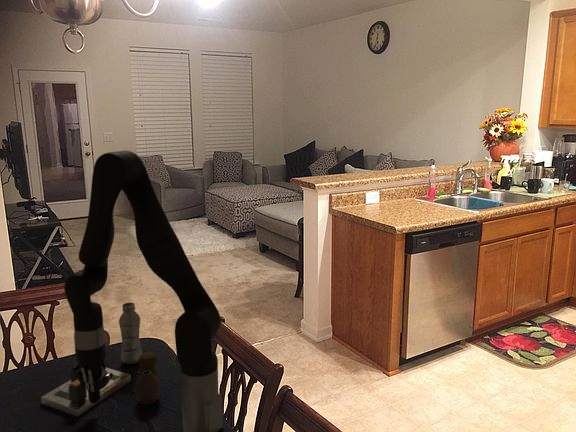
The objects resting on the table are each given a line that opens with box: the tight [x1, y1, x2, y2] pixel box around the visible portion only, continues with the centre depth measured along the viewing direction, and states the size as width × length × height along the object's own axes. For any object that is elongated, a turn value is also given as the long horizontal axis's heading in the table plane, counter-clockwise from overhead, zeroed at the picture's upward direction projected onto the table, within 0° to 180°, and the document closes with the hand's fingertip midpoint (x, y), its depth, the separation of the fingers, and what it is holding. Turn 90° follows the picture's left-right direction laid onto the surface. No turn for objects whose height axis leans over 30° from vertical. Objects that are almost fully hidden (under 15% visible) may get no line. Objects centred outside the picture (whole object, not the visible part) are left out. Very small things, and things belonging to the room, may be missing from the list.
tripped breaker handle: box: [69, 380, 87, 403], centre depth 132 cm, size 3×3×5 cm
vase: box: [134, 371, 161, 405], centre depth 135 cm, size 7×7×9 cm
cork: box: [138, 351, 159, 380], centre depth 141 cm, size 6×6×11 cm
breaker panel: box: [40, 367, 132, 417], centre depth 140 cm, size 14×20×6 cm
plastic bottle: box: [118, 302, 143, 365], centre depth 155 cm, size 6×7×20 cm
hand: (94, 401), depth 130 cm, fingers closed
